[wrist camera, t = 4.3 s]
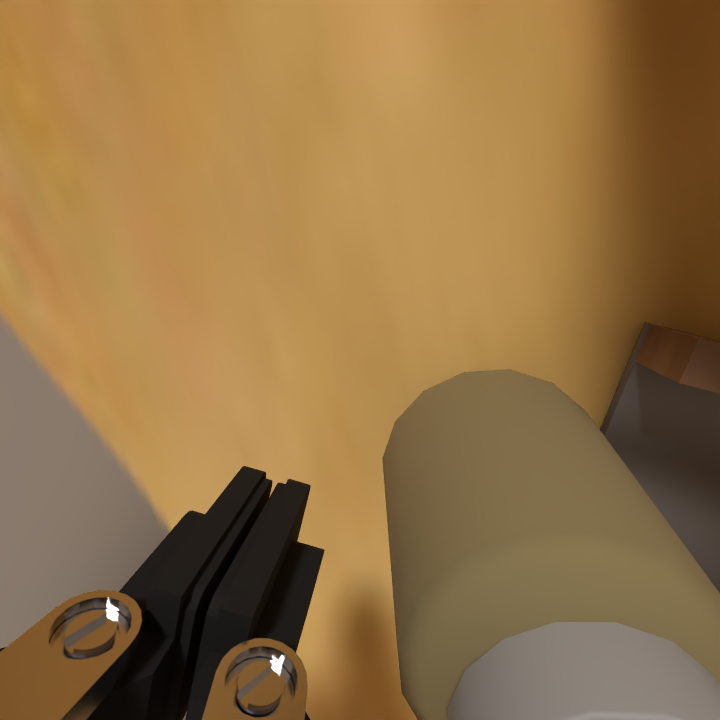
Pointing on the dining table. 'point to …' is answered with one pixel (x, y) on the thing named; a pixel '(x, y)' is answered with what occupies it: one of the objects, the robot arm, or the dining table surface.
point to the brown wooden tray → (674, 434)
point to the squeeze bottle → (537, 566)
